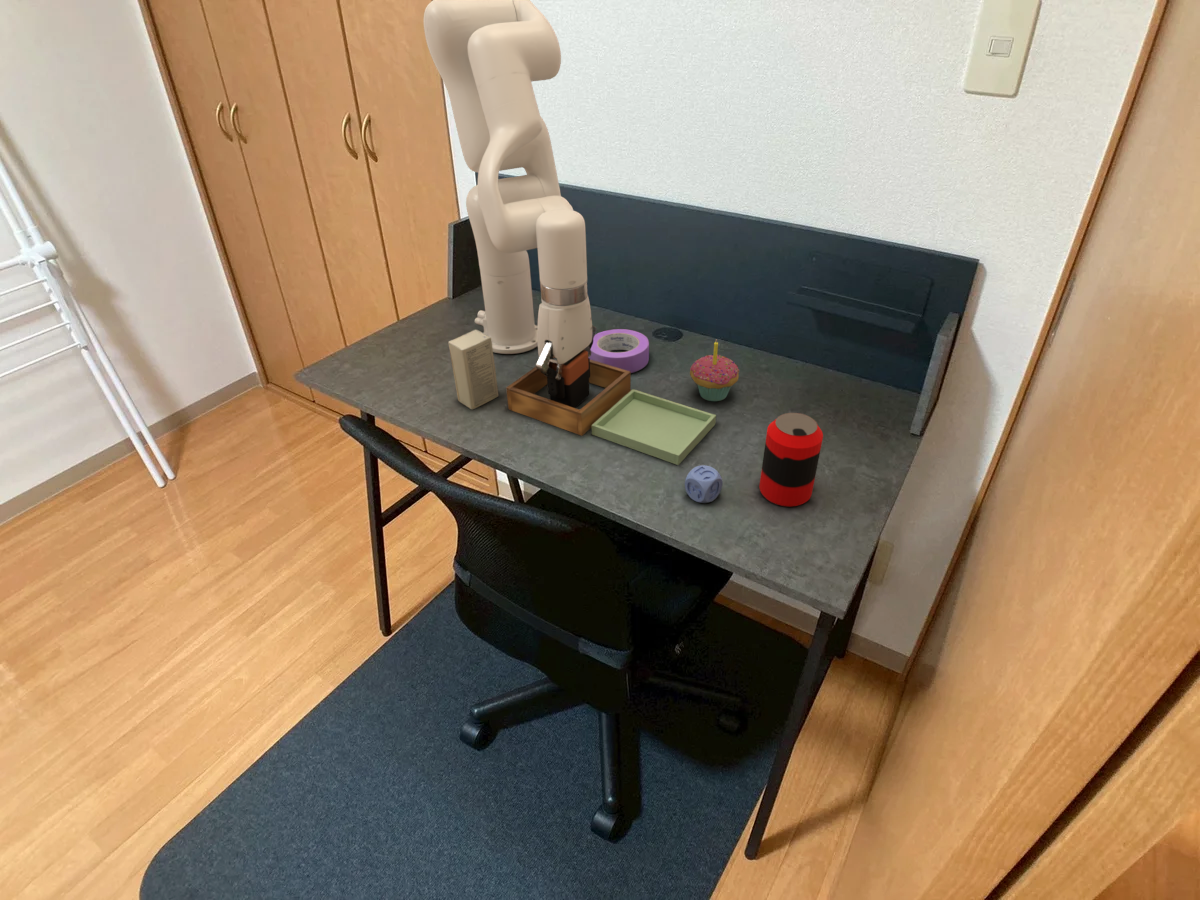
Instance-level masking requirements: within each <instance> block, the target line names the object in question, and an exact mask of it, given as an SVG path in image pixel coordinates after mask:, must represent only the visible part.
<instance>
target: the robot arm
mask: <svg viewBox="0 0 1200 900" xmlns="http://www.w3.org/2000/svg"><path fill="white" fill-rule="evenodd" d="M423 32H424V37H425V42H426V45H427V49H428V51H429V55H430V57H431V59H432V61H433V64H434V66H435V69H436V70H437V72H438V73H439V76H440V78H441V79H442V81H443V84H444V86H445V88H446V91H447V94H448V97H449V100H450V106H451V110H452V115H453V119H454V123H455V128H456V131H457V136H458V140H459V144H460V149H461V152H462V156H463V159H464V161H465V164H466V166H467V168H468V169H469V170H471V171H472V172H474V173H478V174H477V184H476V185H475V186H473V187H472V188H471V189H469V191H468V193H467V195H466V199H465V200H466V201H465V207H466V213H467V216H468V219H469V220H468V221H469V222H470V227H471V229H472V234H473V237H474V241H475V246H476V251H477V259H478V266H479V267H478V268H479V273H480V281H481V282H480V283H481V288H482V297H483V304H484V310H481V309H480V310H478V312H477V317H475V319H474V324H475V325H477V326H482V327H483V332H482V333H484V334H486V335H488V336H490V337H491V341H492V349H493V353H495V354H501V355H514V354H515V355H516V354H521V353H526V352H529V351H532V350H534V349H536V348H537V353H538V359H537V362H536V363H535V367H536V368H537V369H538V370H540V371H541V373H543V374H544V375H545V376H547V392H548V395H549V396H550V395H551V396H554V397H557V398H560V399H563V398H564V397H565V385H564V378H563V377H561V376H562V372H563V367H564V363H565V362H567V361H568V360H570V359H571V358H573V357H574V356H575V355H577V354H578V353H580V352H581V351H582V350H585V351H587V352H588V357H590V356H591V350H590V349H591V347H592V344H593V338H594V336H595V335H596V334H597V333H596V332H597V327H596V326H595V325H593V320H592V310H591V304H590V303H591V302H590V299H589V291H588V288H589V287H588V263H587V262H588V261H587V260H588V259H587V234H586V221H585V218H584V216H583V215H582V214H581V213H580V212H578V211H576V210H574V209H573V206H572V204H570V203H569V201H568V200H567V199H566V198H565V197H563V196H562V194H561V187H560V182H559V178H558V172H557V167H556V161H555V157H554V152H553V146H552V142H551V141H552V140H551V137H550V132H549V129H548V127H547V124H546V122H545V120H544V118H543V117H542V116H541V114H540V109H539V107H538V103H537V99H536V95H535V91H534V87H533V83H532V82H539V81H546V80H547V81H548V80H551V79H554V78H555V77H556V76H557V75H558V74H559V72H560V69H561V64H562V52H561V47H560V42H559V40H558V36H557V34H556V32H555V30H554V28H553V26H552V24H551V23H550V22H549V20H548V18H547V17H546V16H545V15H544V14H543V12H541V11H540V9H539V8H537V7H536V6H535V4H534V3H533V2H532V1H531V0H432V1H430V2H429V3H428V4H427V6H426V7H425V9H424V12H423ZM521 168H523V169H524V171H525V173H526V174H523V175H518V176H510V177H509V176H508V177H504V178H499V174H500V172H501V171H506V170H507V171H508V170H515V169H521ZM535 249H537V260H538V274H539V275H538V276H539V285H540V286H539V287H540V297H541V299H540V300H541V303H540V304H539V306H538V311H537V312H538V313H537V324H535V314H534V313H535V312H534V300H533V289H532V277H531V265H530V258H529V253H528V251H531V250H535ZM554 356H555V358H557V359H554V358H553V357H554ZM553 363H556V364H557V369H556V371H555V370H553V369H552V364H553ZM588 366H589V378H590V358H588Z"/></svg>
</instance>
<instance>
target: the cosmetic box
mask: <svg viewBox="0 0 1200 900" xmlns="http://www.w3.org/2000/svg"><path fill="white" fill-rule="evenodd" d="M447 342H448V348H449V349H448V350H449V355H450V360H451V366H452V373H453V378H454V383H455V389H456V395H457V400H458V402H459V403H461V404H462V405H464V406H465V407H467V408H469V409H470V410H474V409H477V408H479V407H480V406H483V405H485V404H487V403H488V402H491V401H493V400H495V399H497V398H498V397H499V395H500V394H499V387H498V380H497V372H496V364H495V358H494V352H493V349H492V341H491V337H490V336H488V335H486V334H484V333H483V332H482V331H480V330H478V329H473V330H471V331H469V332H466V333H464V334H462V335H460V336H458V337H456V338H454V339H451V340H449V341H447Z"/></svg>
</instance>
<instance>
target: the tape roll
mask: <svg viewBox="0 0 1200 900" xmlns="http://www.w3.org/2000/svg"><path fill="white" fill-rule="evenodd" d="M590 350H591V356H590V357H588V358H590V360H594V361H597V362H600V363H604V364H607V365H610V366H614V367H617V368H620V369H624V370H627V371H630V372H631V374H633V373H636V372H638V371H641V370H643V369H644V368H645V367H646V366H647V365H648V363H649V360H650V359H649V358H650V341H649V339H648V337H647V336H646V335H645V334H643V333H641V332H639V331H636V330H632V329H624V328H614V329H608V330H604V331H600V332H598V333H595V336H594V338H593V344H592V347H591V349H590ZM616 351H617V352H616Z"/></svg>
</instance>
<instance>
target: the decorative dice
mask: <svg viewBox="0 0 1200 900" xmlns="http://www.w3.org/2000/svg"><path fill="white" fill-rule="evenodd" d="M722 488H723V478H722V476H721V474H720V473H719V471H718V469H715V468H714V467H712V466H710V465H707V464H705V465H704V464H701V465H697V466H694V467H693V468H692V469H691V470H690V471H689V472H688V473H687V475H686V477H685V480H684V490H685V492H686V494H687V495H688V497H689V498H690V499H691V500H692V501H695V502H697V503H701V504H708V503H711V502H713V501H714V500H716V499H717V498H718V496H720V493H721V492H722Z"/></svg>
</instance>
